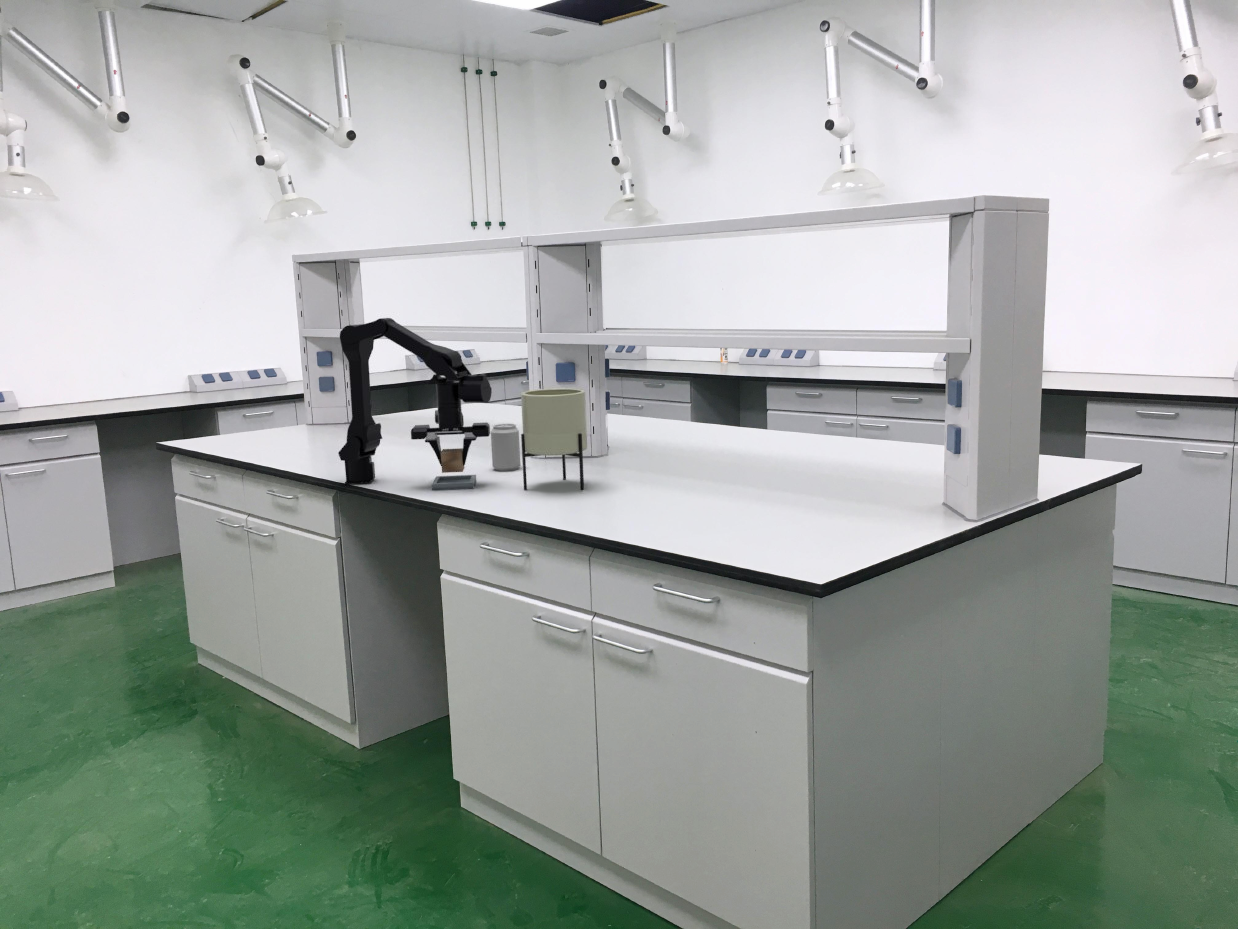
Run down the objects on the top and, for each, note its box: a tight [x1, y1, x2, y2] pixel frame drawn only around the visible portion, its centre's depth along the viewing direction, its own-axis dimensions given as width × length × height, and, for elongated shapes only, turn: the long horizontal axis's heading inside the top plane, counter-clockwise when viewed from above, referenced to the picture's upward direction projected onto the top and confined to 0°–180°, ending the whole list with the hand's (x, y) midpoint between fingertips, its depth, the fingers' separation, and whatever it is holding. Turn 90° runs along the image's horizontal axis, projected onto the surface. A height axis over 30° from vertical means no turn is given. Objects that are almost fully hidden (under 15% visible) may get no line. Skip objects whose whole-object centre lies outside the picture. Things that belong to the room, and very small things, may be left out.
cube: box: [440, 447, 465, 474], centre depth 240 cm, size 5×5×5 cm
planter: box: [520, 388, 588, 491], centre depth 234 cm, size 15×16×23 cm
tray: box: [431, 474, 477, 491], centre depth 241 cm, size 10×10×2 cm
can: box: [490, 423, 521, 472], centre depth 259 cm, size 8×8×12 cm
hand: (453, 465), depth 240 cm, fingers closed on cube, 5 cm apart
